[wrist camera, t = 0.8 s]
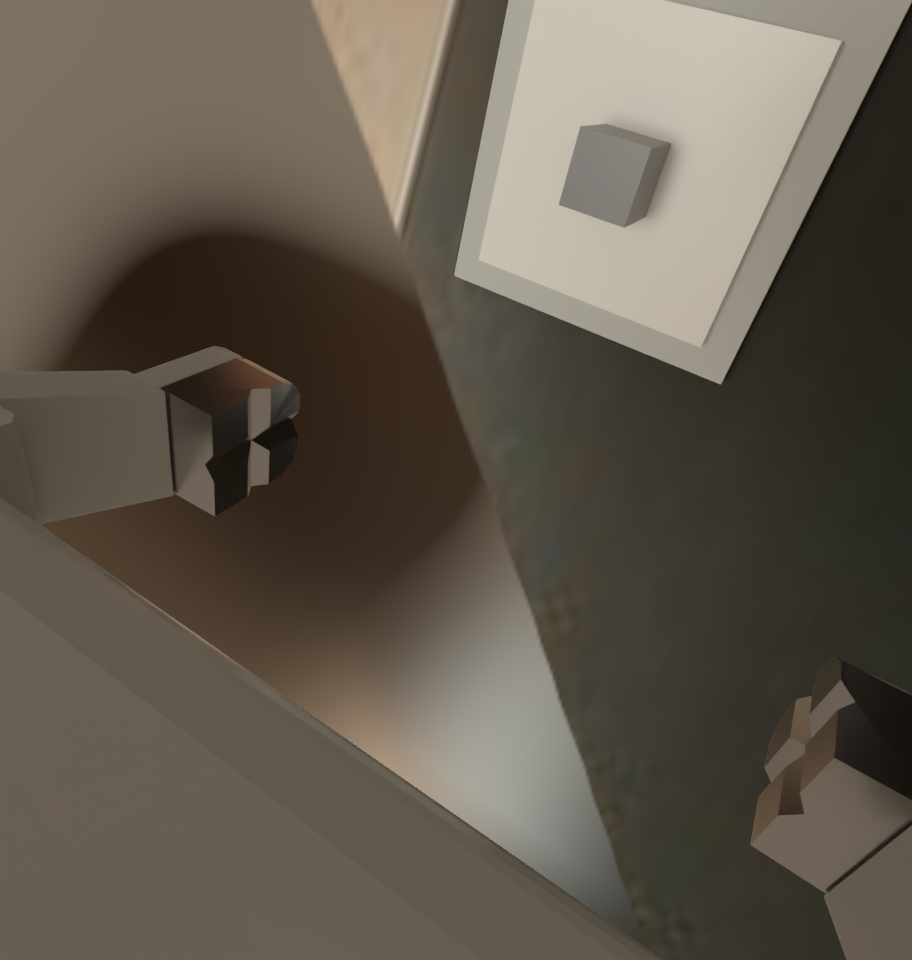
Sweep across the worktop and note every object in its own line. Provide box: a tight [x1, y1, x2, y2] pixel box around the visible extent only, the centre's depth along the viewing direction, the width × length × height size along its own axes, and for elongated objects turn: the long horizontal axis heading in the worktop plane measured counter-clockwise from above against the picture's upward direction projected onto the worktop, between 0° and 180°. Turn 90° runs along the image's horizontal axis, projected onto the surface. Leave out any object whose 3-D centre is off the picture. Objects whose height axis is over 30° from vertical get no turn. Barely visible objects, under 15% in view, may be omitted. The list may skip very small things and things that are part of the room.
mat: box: [454, 0, 912, 385], centre depth 39 cm, size 20×20×1 cm
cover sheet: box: [479, 0, 843, 348], centre depth 37 cm, size 16×16×5 cm
